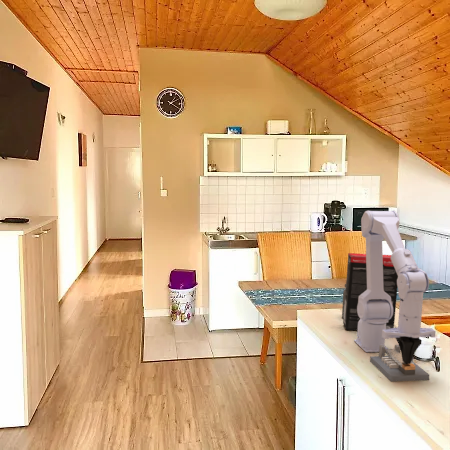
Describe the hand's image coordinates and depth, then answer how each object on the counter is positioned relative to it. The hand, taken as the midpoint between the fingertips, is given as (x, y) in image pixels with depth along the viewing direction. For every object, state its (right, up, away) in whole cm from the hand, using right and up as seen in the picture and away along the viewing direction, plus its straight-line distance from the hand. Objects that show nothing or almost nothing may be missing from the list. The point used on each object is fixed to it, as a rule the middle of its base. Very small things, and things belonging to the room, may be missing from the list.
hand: (406, 362), depth 127 cm
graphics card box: (+1, 0, +37) cm, 37 cm away
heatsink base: (-1, -4, +4) cm, 6 cm away
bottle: (-2, +2, +49) cm, 49 cm away
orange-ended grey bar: (-1, -1, +4) cm, 4 cm away
